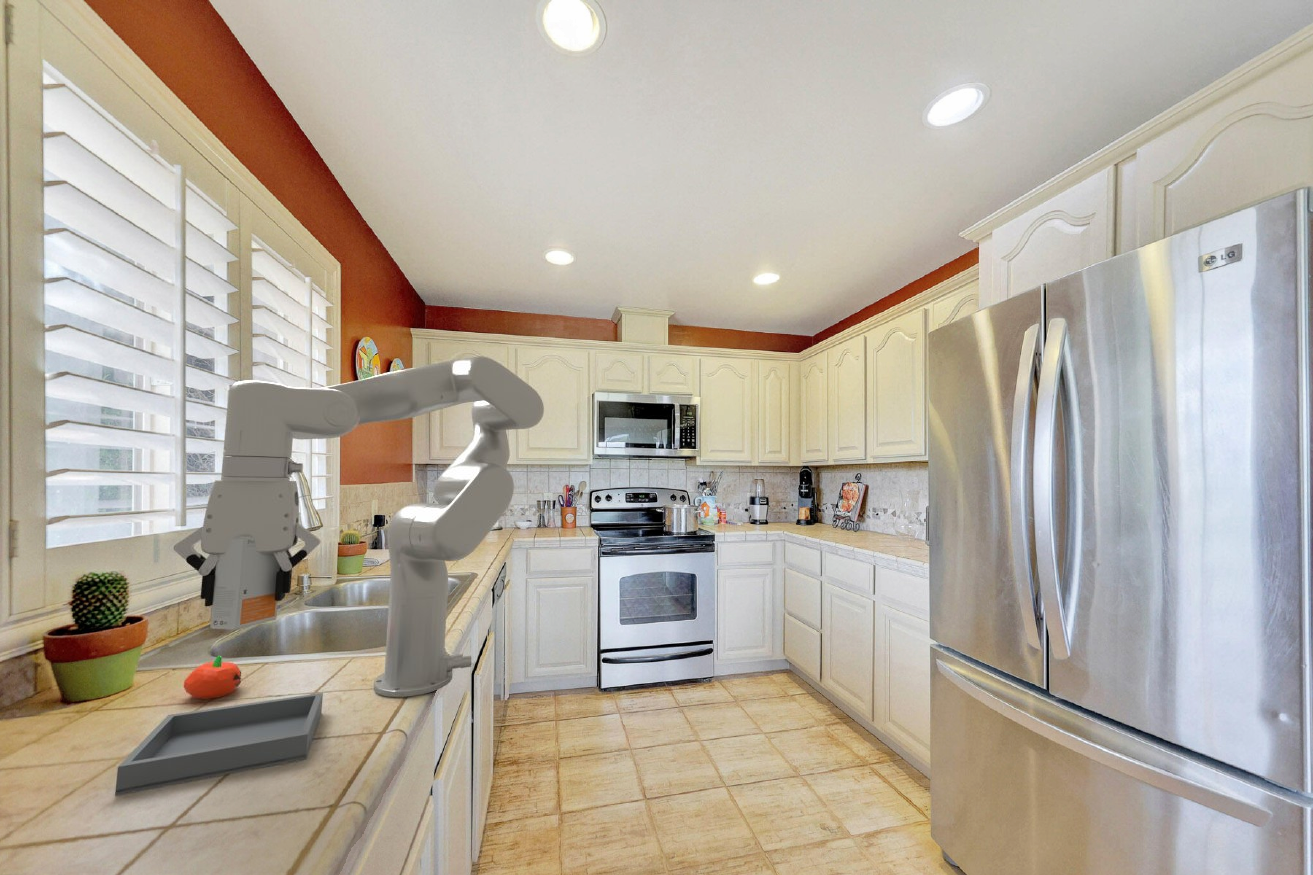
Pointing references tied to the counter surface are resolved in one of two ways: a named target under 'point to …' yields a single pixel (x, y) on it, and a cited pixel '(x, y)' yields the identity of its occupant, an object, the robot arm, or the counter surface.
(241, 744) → the tray
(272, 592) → the skincare box
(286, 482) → the robot arm
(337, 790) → the counter surface
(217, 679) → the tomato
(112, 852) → the counter surface
